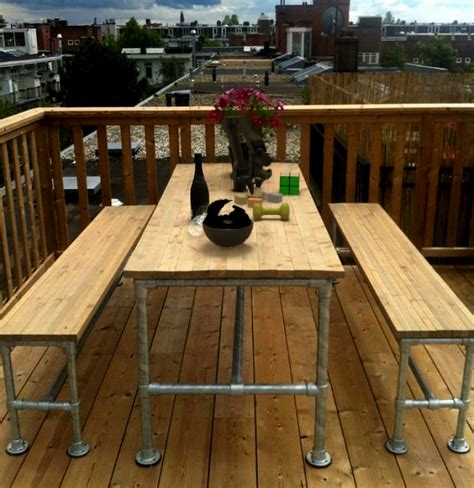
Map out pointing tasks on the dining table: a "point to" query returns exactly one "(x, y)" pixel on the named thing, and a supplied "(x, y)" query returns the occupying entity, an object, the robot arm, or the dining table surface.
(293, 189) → the puzzle cube
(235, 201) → the olive brick
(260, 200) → the terracotta brick
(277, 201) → the slate-blue brick
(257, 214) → the dumbbell
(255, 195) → the cream brick
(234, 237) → the black hollow round piece
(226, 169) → the dining table surface
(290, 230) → the dining table surface
